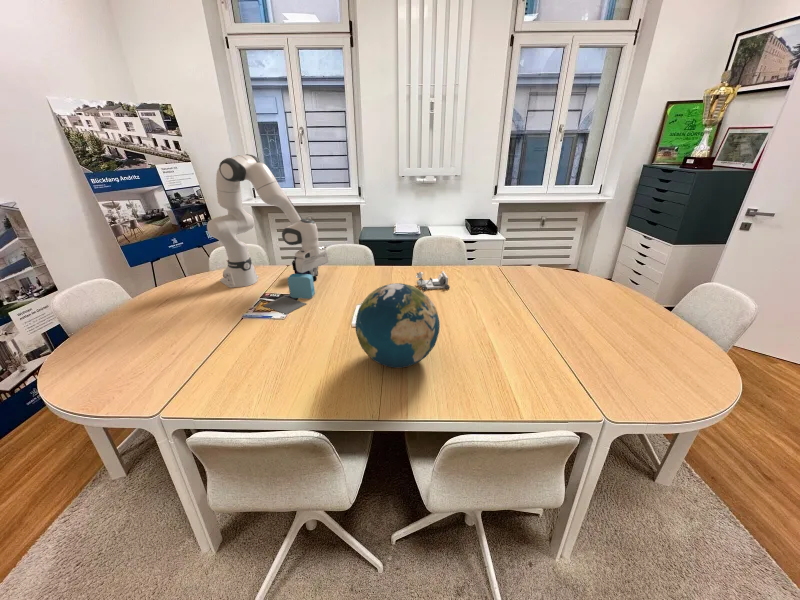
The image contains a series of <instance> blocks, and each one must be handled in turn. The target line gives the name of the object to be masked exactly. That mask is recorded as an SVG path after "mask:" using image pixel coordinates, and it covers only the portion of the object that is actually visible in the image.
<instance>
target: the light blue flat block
mask: <svg viewBox="0 0 800 600" xmlns="http://www.w3.org/2000/svg"><path fill="white" fill-rule="evenodd" d="M314 282H315V281H313V276H312V275H310V274H295V273H292V274H290V275H289V276H288V277H287V285H288V290H289V296H290V298H291V299H305V300H306V299H309V300H311V299H312V298H313V297H314V296H315V294H316V292H315V291H316V290H315V283H314Z"/></svg>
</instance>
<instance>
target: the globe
mask: <svg viewBox="0 0 800 600" xmlns="http://www.w3.org/2000/svg"><path fill="white" fill-rule="evenodd" d="M440 328H441V327H440V319H439V315H438V311H437V308H436V306H435V304H434V302H433V301H432V300H431V298H430V297H429V296H428V295H427V294H426V292H425V291H422V289H419V288H418V287H415V286H413V285H410V284H406V283H399V282H398V283H394V282H393V283H390V284H385V285H382V286H380V287H378V288H375V289H374V290H373V291H372V292H370V293H369V294H368V295H367V296H366V297H365V298H364V300H363V301H362V303H361V304H360V306H359V308H358V311H357V315H356V318H355V333H356V337H357V339H358V344H359V345H360V348H361V349H362V350H363V351H364V352H365V354H366V355H367V356H368V357H369V358H370V359H372V360H373V361H375V363H377V364H379V365H383V366H385V367H388V368H393V369H395V368H397V369H398V368H401V369H402V368H406V367H407V368H408V367H410V366H413V365H415V364H418V363H419V362H422V360H424V359H425V358H426V357H427V356H428V355H429V354H430V353H431V351H432V350H433V349H434V347H435V345H436V344H437V340H438V338H439V333H440Z"/></svg>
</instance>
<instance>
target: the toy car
mask: <svg viewBox="0 0 800 600" xmlns="http://www.w3.org/2000/svg"><path fill="white" fill-rule="evenodd" d="M423 275H424V272H422V271H419V272H416V276H415V278H417V279H418V280H416V283H417V285H418V287H421V291H422V292H426V291H428V290H435V289H444V290H450V285H449V284H448V283H449V276H447V274H446V273H445V271H444V270H442V271H441V273H439V275H438V277H437V278H432V277H430V278H429V279H424V278H423Z"/></svg>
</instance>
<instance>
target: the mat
mask: <svg viewBox="0 0 800 600" xmlns="http://www.w3.org/2000/svg"><path fill="white" fill-rule="evenodd" d="M306 305H307V303H306V302H303V301H300V300H297V299H295V298H292V297H288V296H285V295H283V296H280V297H279V298H276V299H275V300H272V301H270V302H268V303H265V304H264V305H262V307H264V308H266V307H267V308H266V309H269V308H270V310H272V309H273V310H272V311H275V310H276V312H277V313H280V312H281V314H283V313H284V314H283V315H288V314H290V313H292V312H295V311H296V310H298V309H300V308H302V307H305V306H306Z"/></svg>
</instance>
